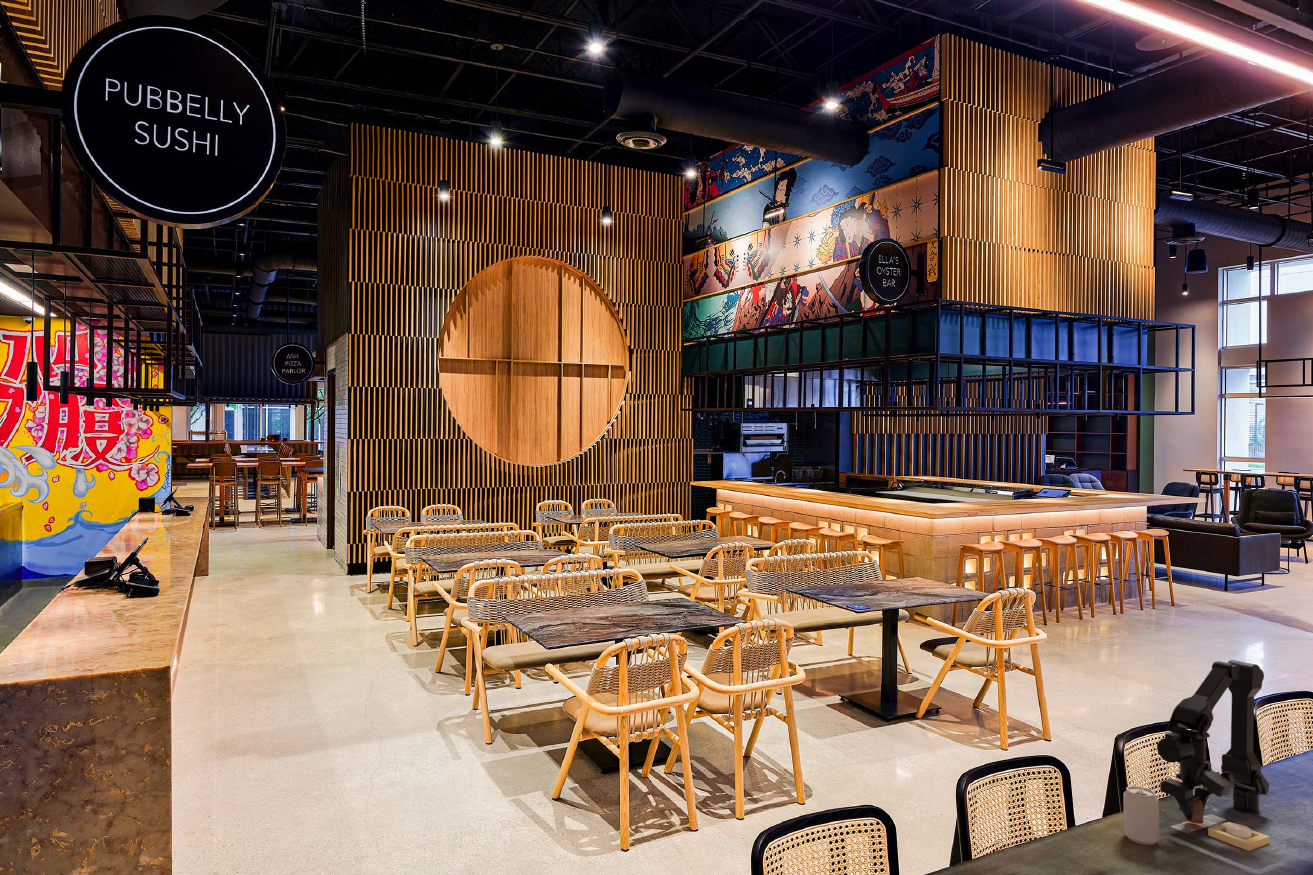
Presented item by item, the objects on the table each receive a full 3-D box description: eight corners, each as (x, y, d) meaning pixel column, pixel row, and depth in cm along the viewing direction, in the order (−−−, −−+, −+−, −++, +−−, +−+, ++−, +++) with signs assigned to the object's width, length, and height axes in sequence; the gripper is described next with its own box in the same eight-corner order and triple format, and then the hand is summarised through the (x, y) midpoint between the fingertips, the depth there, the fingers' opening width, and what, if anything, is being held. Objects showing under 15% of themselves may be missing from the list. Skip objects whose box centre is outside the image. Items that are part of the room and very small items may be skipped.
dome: (1233, 833, 200) (1233, 821, 200) (1255, 842, 195) (1255, 829, 195) (1221, 837, 197) (1221, 825, 198) (1244, 846, 193) (1243, 833, 193)
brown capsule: (1190, 815, 207) (1189, 795, 207) (1206, 821, 203) (1206, 801, 203) (1180, 818, 205) (1180, 798, 205) (1197, 824, 202) (1196, 804, 202)
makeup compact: (1205, 814, 212) (1205, 811, 212) (1234, 825, 206) (1233, 821, 206) (1163, 827, 204) (1163, 824, 204) (1192, 839, 198) (1192, 835, 198)
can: (1124, 841, 196) (1124, 792, 197) (1123, 829, 203) (1122, 781, 203) (1160, 848, 193) (1159, 798, 193) (1158, 836, 199) (1157, 787, 200)
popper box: (1229, 831, 202) (1229, 821, 202) (1269, 846, 194) (1269, 836, 194) (1208, 838, 198) (1208, 828, 198) (1248, 854, 190) (1248, 843, 190)
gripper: (1204, 772, 193) (1205, 838, 193) (1248, 760, 202) (1249, 823, 201) (1158, 757, 203) (1159, 820, 203) (1201, 746, 212) (1202, 806, 211)
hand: (1193, 817), depth 204 cm, fingers closed on brown capsule, 4 cm apart
